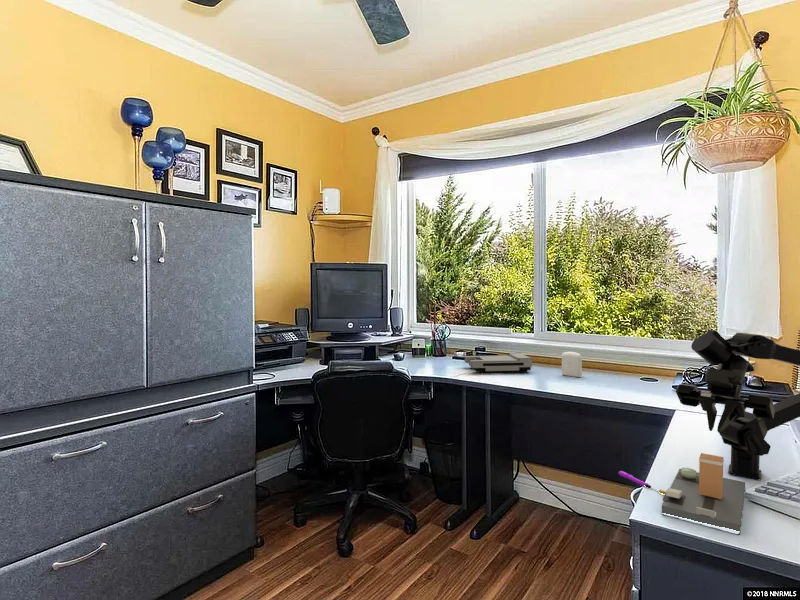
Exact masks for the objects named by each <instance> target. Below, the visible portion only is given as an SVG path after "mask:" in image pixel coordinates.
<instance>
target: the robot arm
mask: <svg viewBox="0 0 800 600" xmlns="http://www.w3.org/2000/svg"><path fill="white" fill-rule="evenodd" d="M691 349H692V350H693V352H695V353H696V354H697V355H698V356H700V357H701V359H703V360H705V361H706V363H708V364H709V365H712V366H716V365H717V367H716V368H710V367H709V368H707V369H706V373H705V379H704V382H705V383H707V386H706V389H707V390H708V391H707V390H700V391H699V389H698V386H697V385H693V384H687V383H680V384H678V385H676V389H675V393H676V396H677V398H678V400H679V402H680V404H682V405H683V406H690V407H695V408H696V407H698V406H699V405H700V407H701V409H702V410H703V411H704V412H706V417H707V423H708V424H707V425H708V430H709V431H710V432H712V431H713V429H714V427H715V423H716V419H717V415H718V411H717V408H716V404H719V405H724V407H723V411H722V414H721V417H720V419H719V421H718V425H717V429H716V431H717V433H718V434H719V436H721V439H722V440H721V441H722V442H723V444H726V445H728V446H730V464H729V465H728V469H727V474H729V473H731V474H730V475H733V474H735V475H734V476H738V475H740V476H739V477H743V476H745V477H744V478H747V477H750V478H749V479H752V478H756V479H755V480H757V479H761V480H762V469H760V456H761V457H762V456H764V455H769V453H770V450H771V445H770V444H769V443H768V442H767V441H766V436H767V433H768V432H769V431H771V430H773V429H775V428H778V427H780V426H782V425H784V424H787V423H788V422H791V421H793V420H796V419H798V418H800V392H799V393H796V394H794V395H792V396H789V397H787V398H785V399H783V400H781V401H778V402H776V403H774V402H773V399H772V398H771V397H770V395H764V394H759V393H758V394H757V393H749V394H748V397H747V398H744V397H741V393H742V392H743V390H744V389H743V388H744V387H743V385H744V381H745V377H746V374H747V373H750V372H751V373H752V372H755V368H754V366H753V365H752V364H751V363H750V361H749V360H747V359H746V358H751V359H758V360H774V361H779V362H781V363H786V364H790V365H793V366H798V367H800V350H799V349H796V348H791V347H787V346H784V345H781V344H778V343H776V342H775V341H774V340H773V339H771V338H768V337H767V336H765V335H761V334H755V333H747V332H746V333H745V332H736V333H735V334H734V335H733V336H732V337H730V338H724V337H723V336H722V335H721V334H720V332H718V331H717V330H713V329H709V330H708V331H707V332H706V333H703V334H701V335H699V336H698V337H696V338H695V339H694V340H693V341H692V343H691ZM744 357H746V358H744ZM747 409H752V412H749V411H746V410H747Z"/></svg>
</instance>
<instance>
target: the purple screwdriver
mask: <svg viewBox="0 0 800 600" xmlns="http://www.w3.org/2000/svg"><path fill="white" fill-rule="evenodd" d="M618 475H619V476H621V477H622V478H625V479H628V480H629V481H631V482H634V483H636V484H638V485H640V486H643V488H644V487H645V486H646V487H645V488H647V487H648V488H647V489H649V488H651V489H652V490H654V489H655V488H654V487H652V485H650V484H649V483H647V482H644V481H643V480H640V479H638V478H637V477H634V475H632V474H629V473H627V472H625V471H623V470H620V471H618ZM644 485H645V486H644ZM656 490H657V489H655V490H654V491H656ZM658 491H659V492H660V493H663V494H665V493H666V491H665V490H663V489H659V490H658Z"/></svg>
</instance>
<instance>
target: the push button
mask: <svg viewBox="0 0 800 600" xmlns="http://www.w3.org/2000/svg"><path fill="white" fill-rule="evenodd" d="M680 469H681V476H683V477H685V478H689V479H695V478H696V472H697V470H695V469H694V468H690V467H682V468H680Z"/></svg>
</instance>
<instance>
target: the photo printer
mask: <svg viewBox="0 0 800 600" xmlns="http://www.w3.org/2000/svg"><path fill="white" fill-rule="evenodd" d="M582 364H583V358H582V355H581V354H580V353H578V352H575V351H565V352H562V354H561V375H562V376H567V377H574V378H581V377H582V375H583V365H582Z"/></svg>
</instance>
